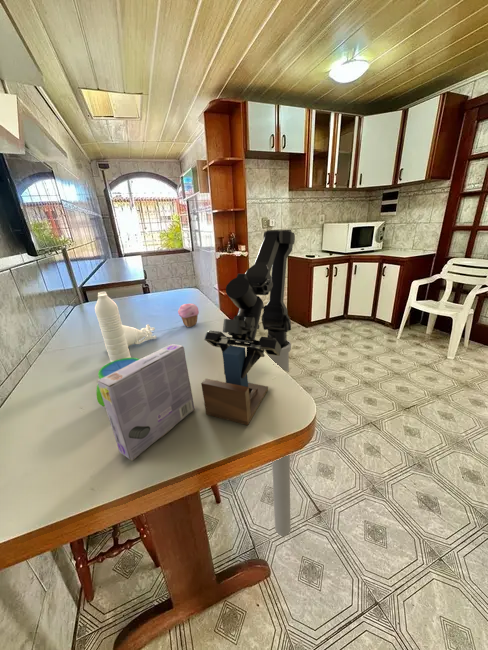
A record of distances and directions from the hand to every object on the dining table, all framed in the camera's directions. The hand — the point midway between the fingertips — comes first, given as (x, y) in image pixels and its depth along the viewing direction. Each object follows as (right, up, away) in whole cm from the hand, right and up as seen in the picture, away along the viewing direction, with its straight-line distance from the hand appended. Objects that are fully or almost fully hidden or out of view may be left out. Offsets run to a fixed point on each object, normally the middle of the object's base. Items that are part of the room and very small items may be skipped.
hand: (233, 376), depth 64 cm
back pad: (+1, -6, +4) cm, 7 cm away
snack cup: (-28, -8, +8) cm, 31 cm away
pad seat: (+1, -7, +4) cm, 8 cm away
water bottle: (-39, -1, +27) cm, 47 cm away
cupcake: (-21, +12, +55) cm, 61 cm away
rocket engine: (-40, +4, +40) cm, 56 cm away
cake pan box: (-16, -11, -2) cm, 20 cm away
